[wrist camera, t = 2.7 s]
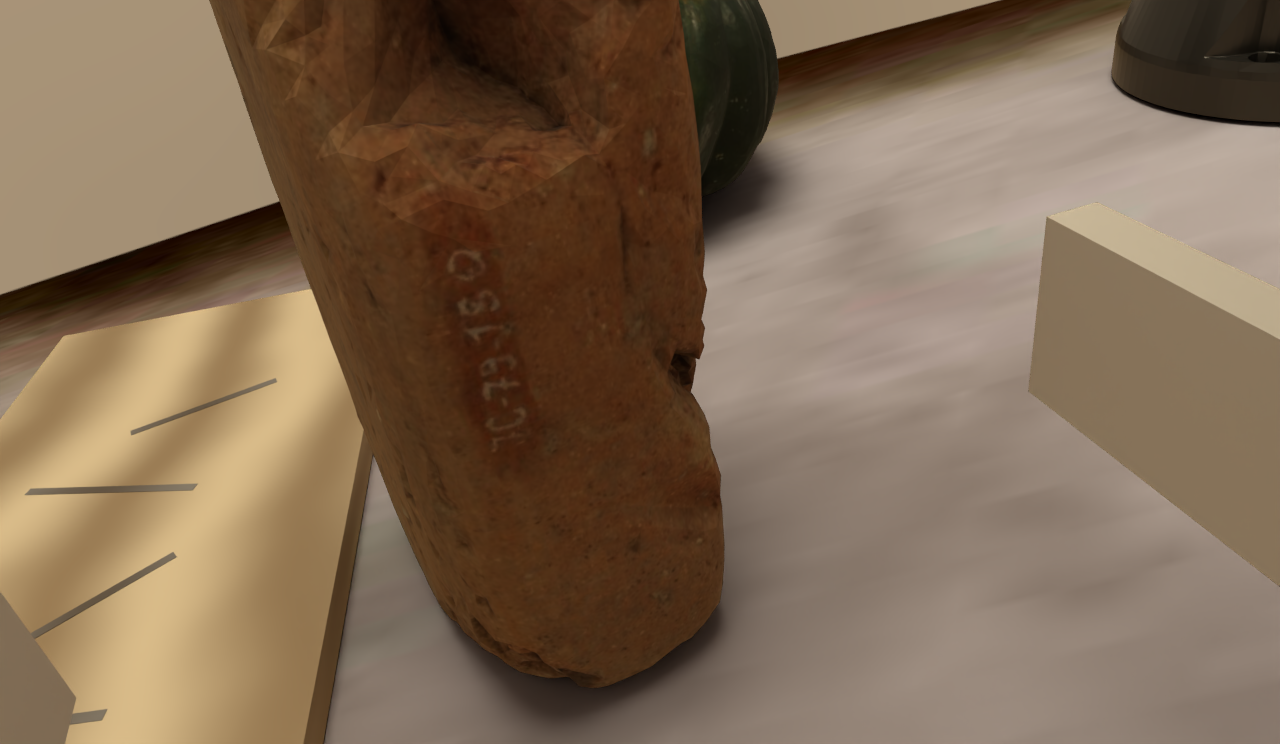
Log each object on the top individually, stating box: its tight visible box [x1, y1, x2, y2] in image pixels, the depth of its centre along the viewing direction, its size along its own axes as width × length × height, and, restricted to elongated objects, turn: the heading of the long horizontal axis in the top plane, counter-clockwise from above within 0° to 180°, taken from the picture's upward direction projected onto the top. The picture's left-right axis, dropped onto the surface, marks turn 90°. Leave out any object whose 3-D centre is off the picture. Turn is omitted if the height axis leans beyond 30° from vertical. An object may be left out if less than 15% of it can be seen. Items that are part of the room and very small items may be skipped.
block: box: [209, 0, 724, 688], centre depth 20 cm, size 11×8×20 cm
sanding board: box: [0, 289, 373, 744], centre depth 28 cm, size 14×28×1 cm, turn 8°
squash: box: [678, 0, 778, 197], centre depth 43 cm, size 14×15×15 cm
